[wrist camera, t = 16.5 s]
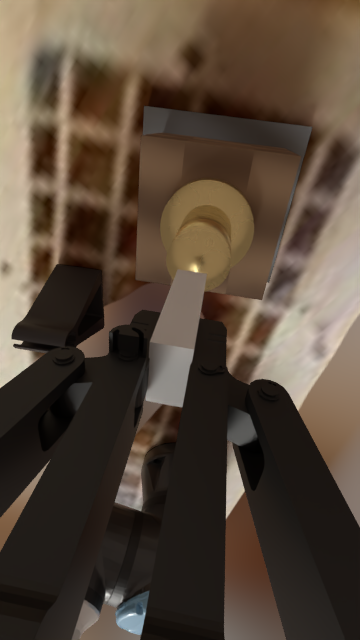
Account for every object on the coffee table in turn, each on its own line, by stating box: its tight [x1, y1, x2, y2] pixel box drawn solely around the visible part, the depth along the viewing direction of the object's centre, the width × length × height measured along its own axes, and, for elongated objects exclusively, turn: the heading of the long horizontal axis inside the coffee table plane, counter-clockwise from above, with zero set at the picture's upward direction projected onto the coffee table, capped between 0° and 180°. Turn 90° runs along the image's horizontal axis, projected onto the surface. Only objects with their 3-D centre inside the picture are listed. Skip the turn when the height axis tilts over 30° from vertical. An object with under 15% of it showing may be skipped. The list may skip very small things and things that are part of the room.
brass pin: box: [160, 178, 254, 292], centre depth 27 cm, size 8×8×16 cm
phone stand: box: [12, 264, 104, 353], centre depth 40 cm, size 9×6×12 cm, turn 175°
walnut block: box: [135, 106, 312, 300], centre depth 32 cm, size 16×16×10 cm
